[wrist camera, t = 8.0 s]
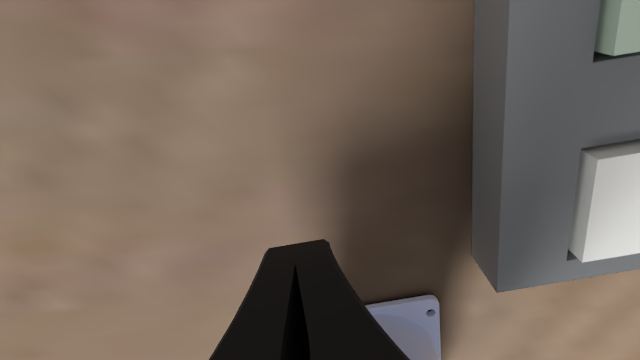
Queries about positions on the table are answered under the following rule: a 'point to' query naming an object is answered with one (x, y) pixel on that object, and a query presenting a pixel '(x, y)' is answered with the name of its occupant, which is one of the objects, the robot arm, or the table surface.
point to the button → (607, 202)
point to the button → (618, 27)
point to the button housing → (541, 134)
